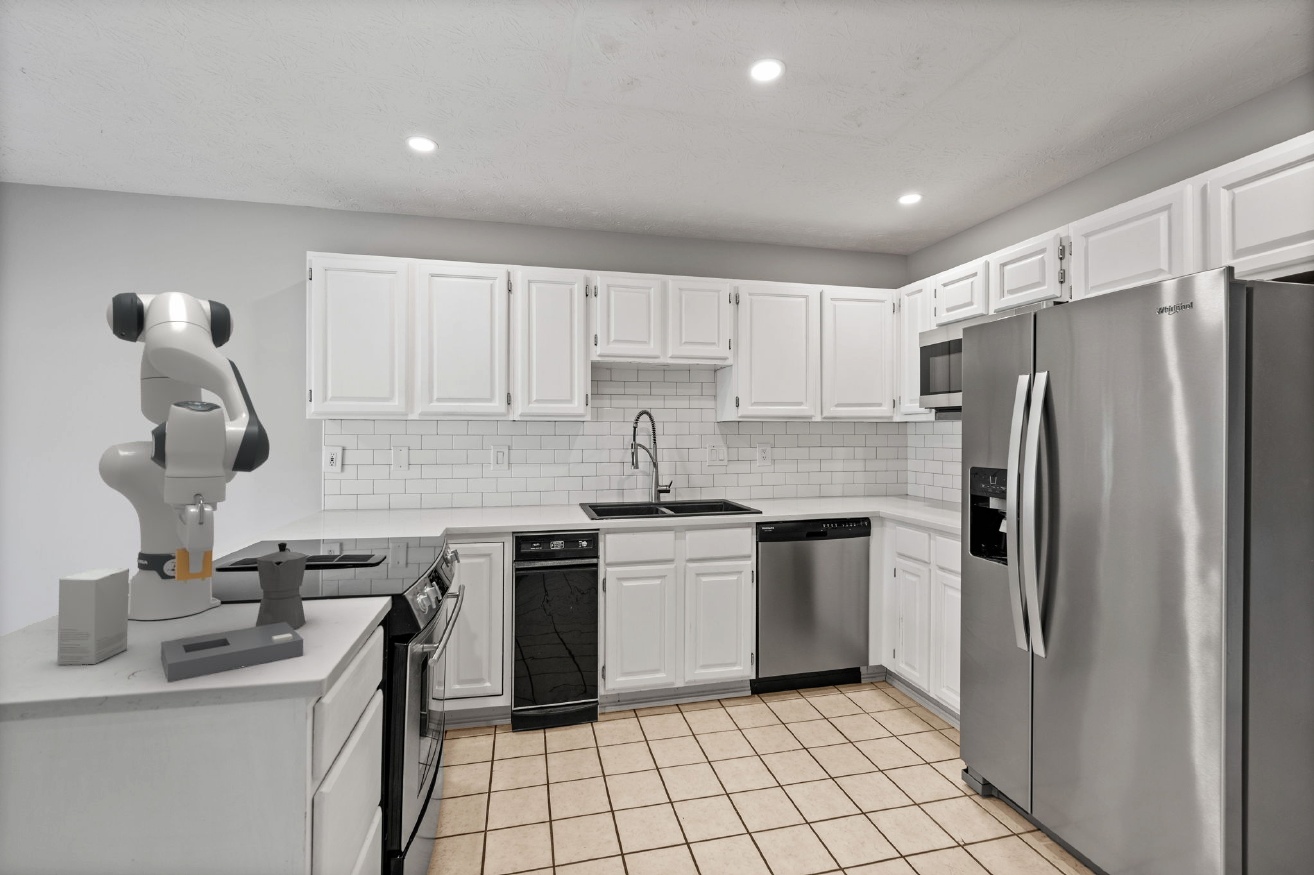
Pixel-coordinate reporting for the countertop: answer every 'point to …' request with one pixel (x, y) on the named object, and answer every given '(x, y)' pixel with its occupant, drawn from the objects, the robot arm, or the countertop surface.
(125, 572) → the skincare box
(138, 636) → the countertop surface
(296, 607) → the coffeepot
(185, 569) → the plug
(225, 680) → the countertop surface
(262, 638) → the socket plate
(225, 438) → the robot arm
